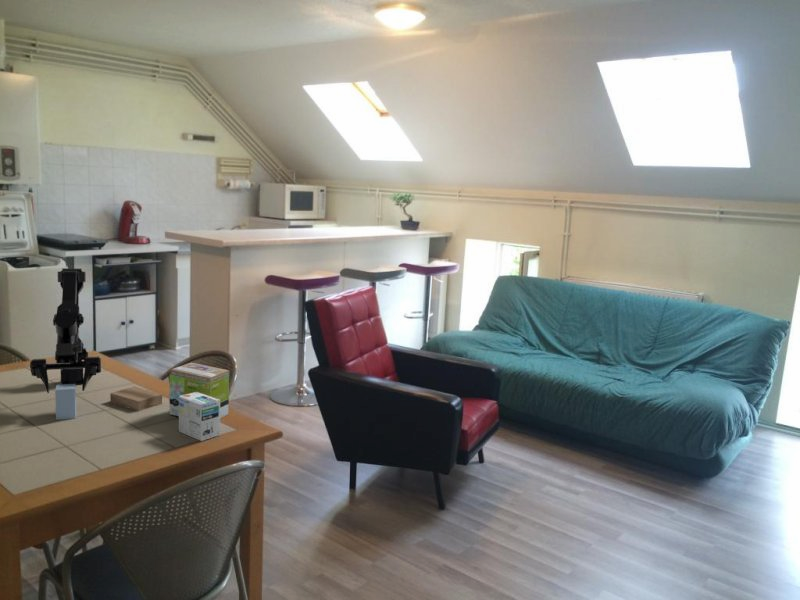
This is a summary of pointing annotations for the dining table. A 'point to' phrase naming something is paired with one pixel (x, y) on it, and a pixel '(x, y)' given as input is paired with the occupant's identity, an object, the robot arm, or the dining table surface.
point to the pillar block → (65, 401)
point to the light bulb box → (199, 416)
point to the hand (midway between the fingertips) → (65, 391)
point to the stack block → (136, 398)
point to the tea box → (199, 385)
